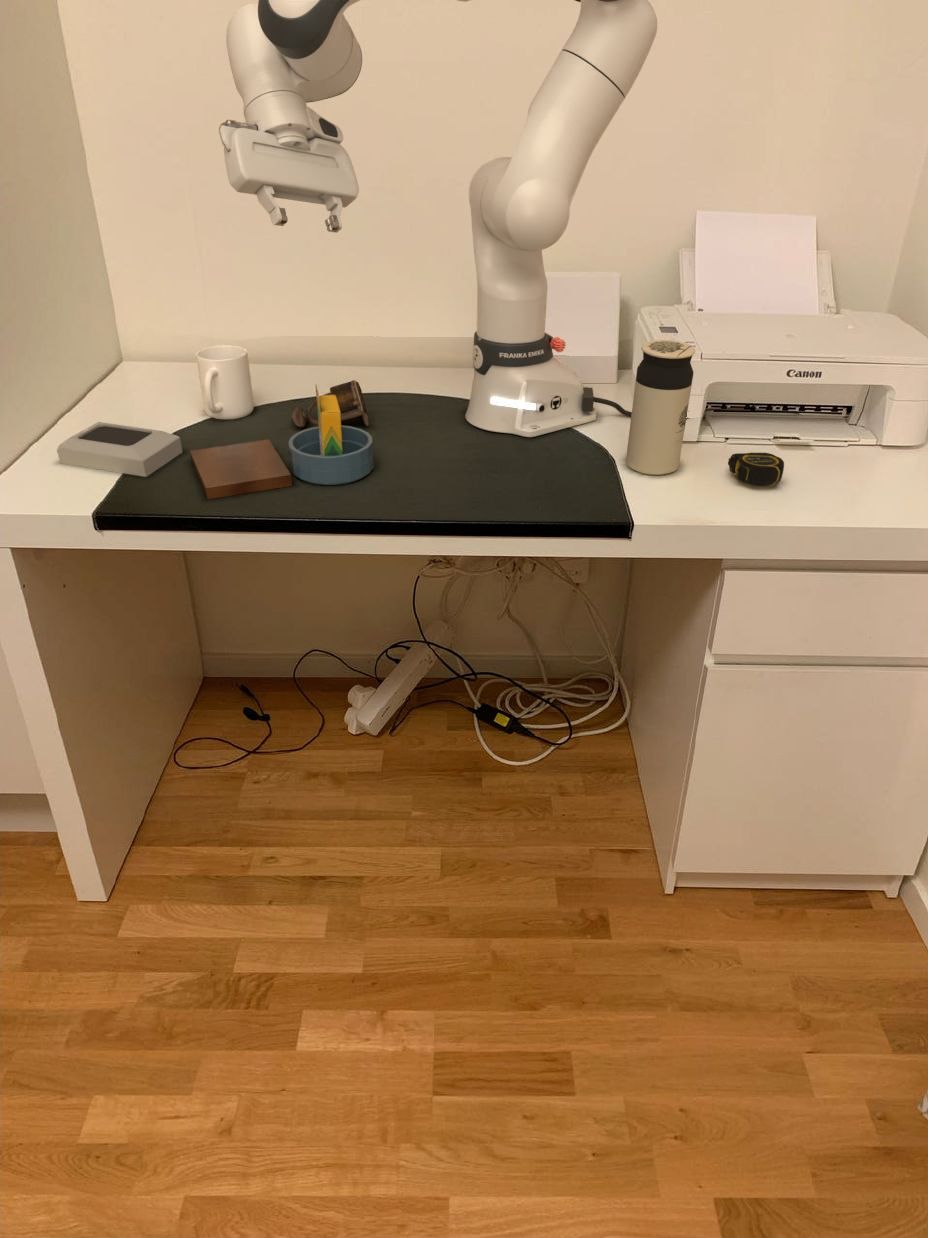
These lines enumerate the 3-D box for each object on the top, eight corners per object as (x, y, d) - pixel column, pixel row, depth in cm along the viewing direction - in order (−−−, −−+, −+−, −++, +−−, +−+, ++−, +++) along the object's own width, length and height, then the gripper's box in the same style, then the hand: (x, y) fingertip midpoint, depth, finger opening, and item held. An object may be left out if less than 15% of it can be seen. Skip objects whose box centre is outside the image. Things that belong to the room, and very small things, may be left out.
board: (270, 450, 136) (268, 439, 135) (292, 485, 126) (291, 474, 125) (191, 461, 132) (189, 450, 131) (207, 499, 122) (205, 487, 121)
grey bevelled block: (141, 453, 126) (54, 440, 129) (146, 476, 128) (60, 463, 131) (178, 429, 133) (95, 417, 137) (182, 452, 135) (100, 439, 139)
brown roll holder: (360, 407, 137) (378, 373, 144) (283, 393, 139) (304, 360, 145) (361, 444, 143) (379, 411, 149) (287, 430, 144) (307, 398, 151)
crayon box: (345, 475, 128) (339, 398, 121) (324, 477, 127) (318, 400, 121) (340, 455, 134) (335, 381, 127) (320, 457, 133) (314, 382, 127)
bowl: (359, 447, 137) (357, 420, 135) (384, 478, 128) (383, 449, 126) (283, 459, 133) (279, 431, 131) (303, 491, 124) (300, 462, 122)
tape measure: (769, 471, 132) (774, 448, 130) (787, 491, 126) (793, 467, 124) (725, 472, 131) (730, 449, 129) (741, 492, 126) (746, 468, 124)
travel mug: (615, 466, 133) (629, 347, 123) (642, 450, 138) (657, 335, 128) (662, 481, 129) (680, 359, 118) (687, 464, 134) (707, 346, 124)
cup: (261, 404, 153) (254, 346, 147) (236, 429, 143) (228, 368, 137) (216, 401, 154) (207, 343, 148) (188, 426, 144) (178, 365, 138)
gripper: (226, 102, 112) (256, 206, 113) (350, 130, 127) (376, 222, 127) (204, 130, 117) (233, 230, 117) (326, 154, 131) (351, 243, 132)
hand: (308, 226), depth 122 cm, fingers open, 8 cm apart
